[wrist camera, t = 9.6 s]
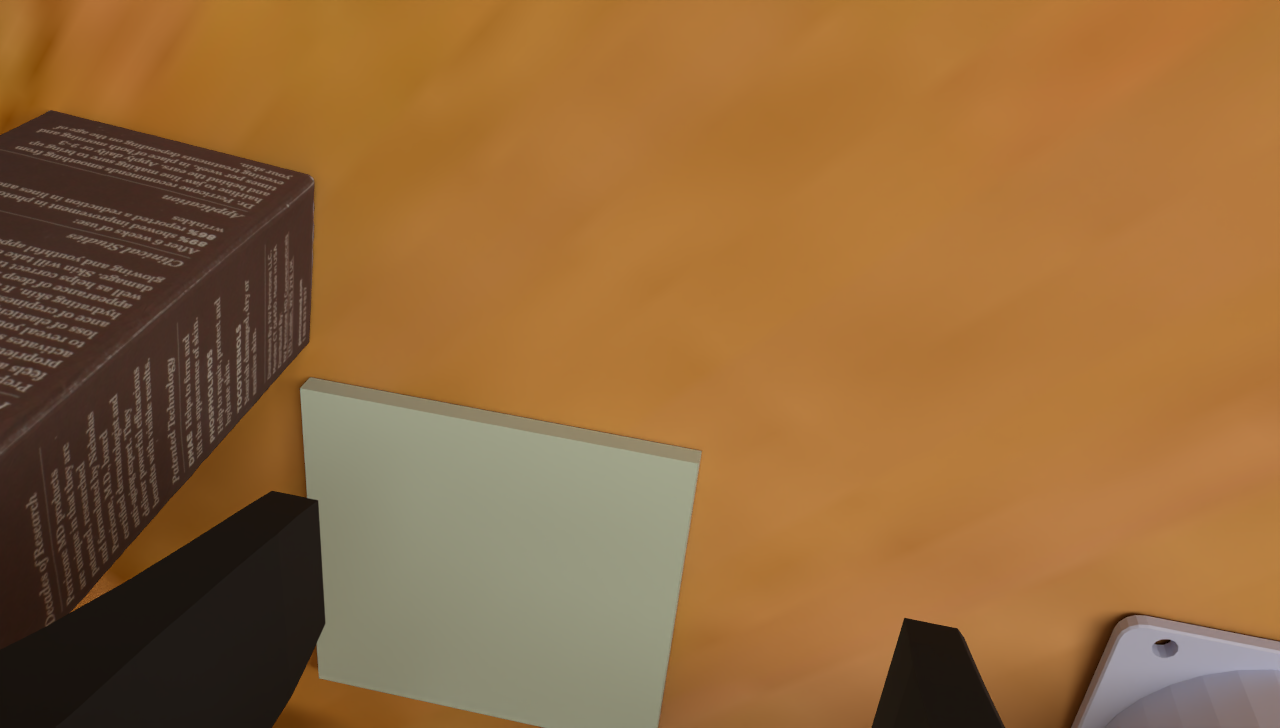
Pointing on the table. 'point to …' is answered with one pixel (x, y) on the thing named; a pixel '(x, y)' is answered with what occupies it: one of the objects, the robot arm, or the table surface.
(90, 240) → the box
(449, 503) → the sage pad
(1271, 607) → the table surface
